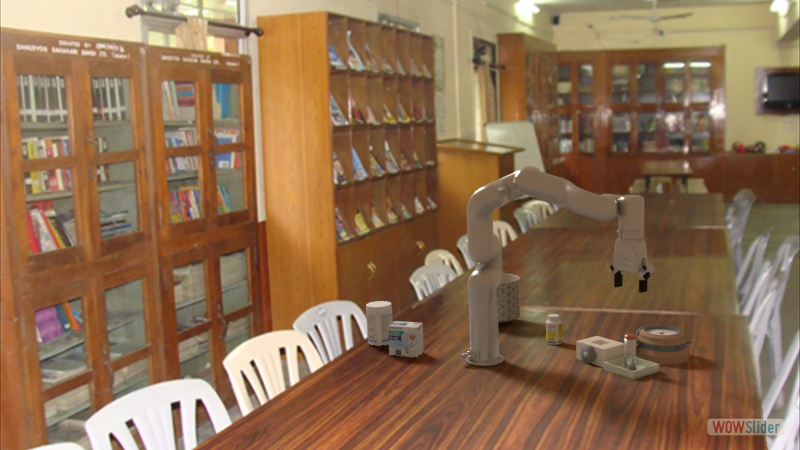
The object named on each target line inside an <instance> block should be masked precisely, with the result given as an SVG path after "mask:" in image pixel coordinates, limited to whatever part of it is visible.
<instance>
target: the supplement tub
mask: <svg viewBox="0 0 800 450" xmlns="http://www.w3.org/2000/svg"><path fill="white" fill-rule="evenodd" d="M365 307H366V308H365V315H366V316H365V317H366V332H367V343H368V344H369V345H371V346H373V345H375V346H374V347H383V346H382V345H384V346H389V325H391V324H392V323H393V322H394V320H393V319H394V318H393V307H392V302H390V301H386V300H385V301H384V300H378V301H377V300H376V301H371V302H368V303H366V305H365Z"/></svg>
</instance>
